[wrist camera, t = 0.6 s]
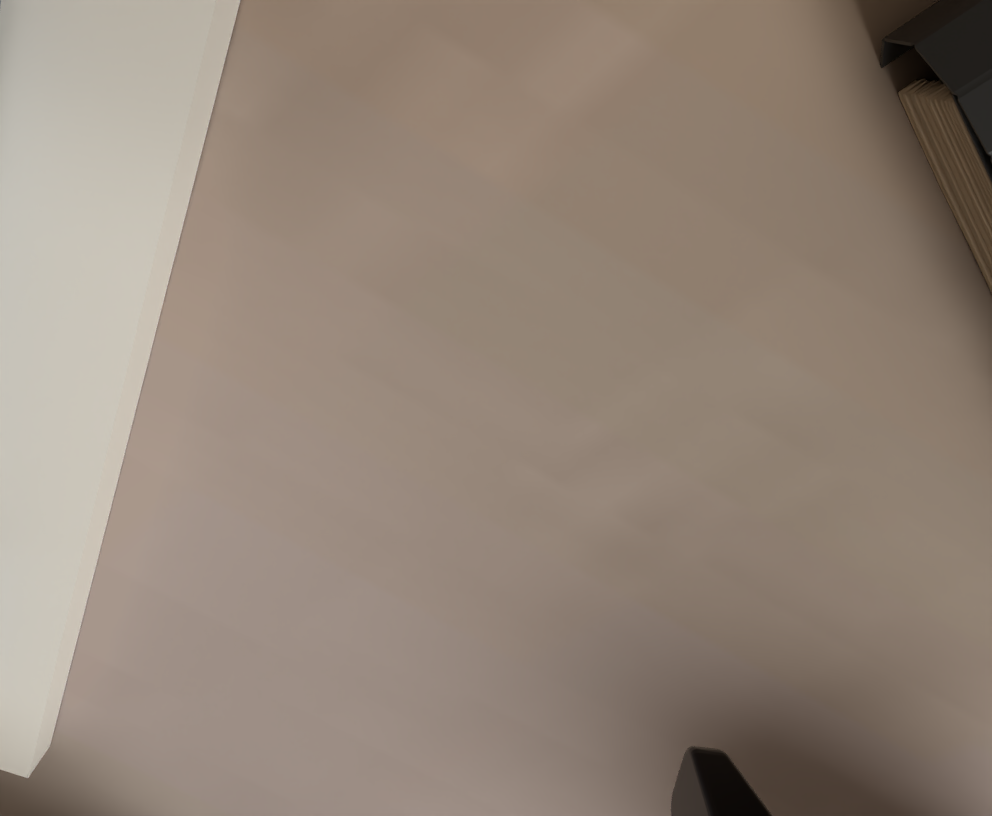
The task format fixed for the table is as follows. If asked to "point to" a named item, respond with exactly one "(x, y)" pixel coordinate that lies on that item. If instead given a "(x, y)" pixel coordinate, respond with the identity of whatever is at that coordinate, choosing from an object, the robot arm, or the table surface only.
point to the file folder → (954, 109)
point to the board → (82, 296)
